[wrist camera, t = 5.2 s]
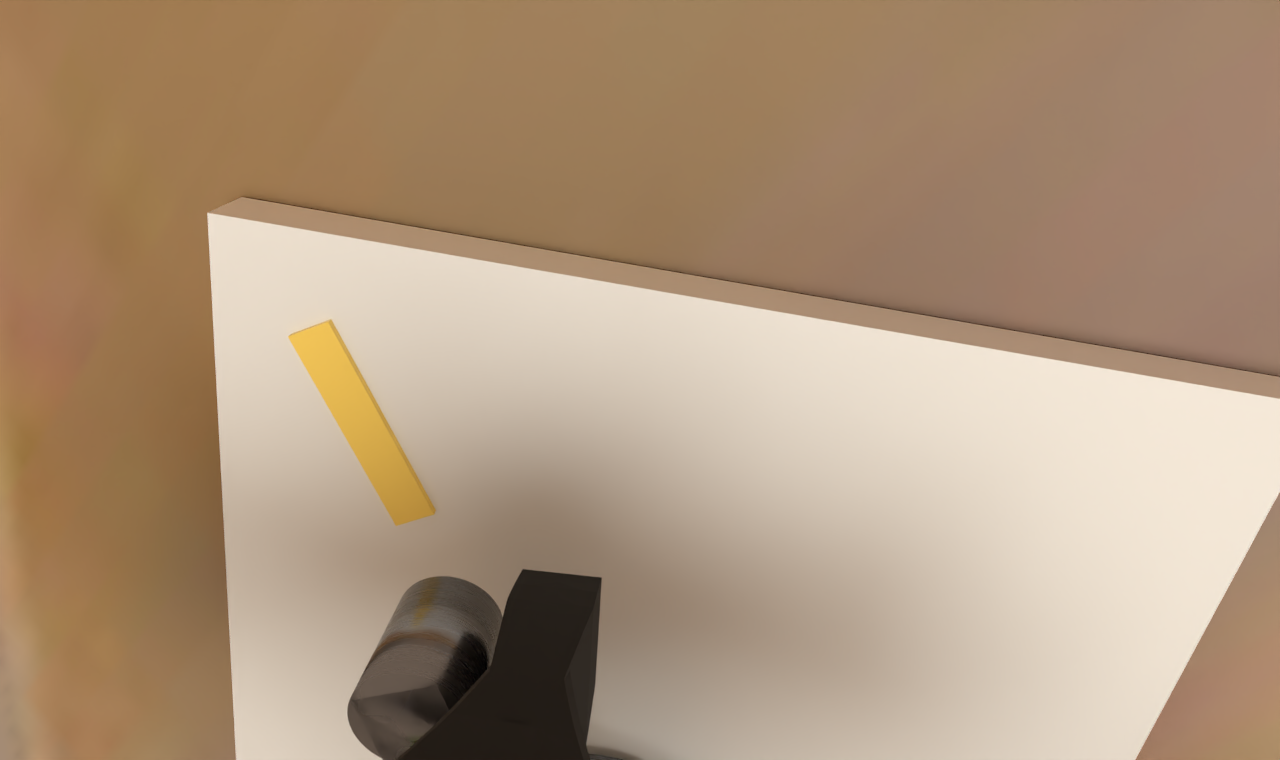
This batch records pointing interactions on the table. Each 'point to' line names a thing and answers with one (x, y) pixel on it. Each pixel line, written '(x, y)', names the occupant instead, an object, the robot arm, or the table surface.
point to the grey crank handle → (425, 664)
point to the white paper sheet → (715, 497)
